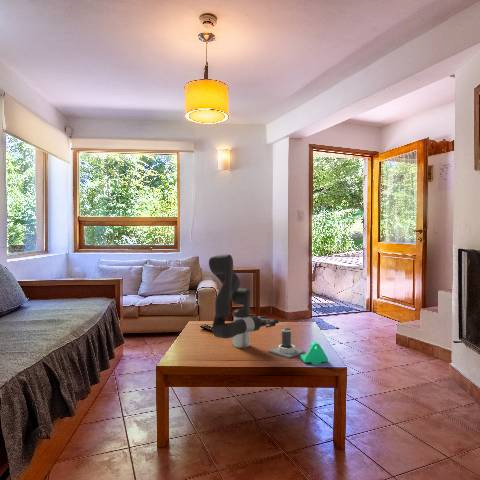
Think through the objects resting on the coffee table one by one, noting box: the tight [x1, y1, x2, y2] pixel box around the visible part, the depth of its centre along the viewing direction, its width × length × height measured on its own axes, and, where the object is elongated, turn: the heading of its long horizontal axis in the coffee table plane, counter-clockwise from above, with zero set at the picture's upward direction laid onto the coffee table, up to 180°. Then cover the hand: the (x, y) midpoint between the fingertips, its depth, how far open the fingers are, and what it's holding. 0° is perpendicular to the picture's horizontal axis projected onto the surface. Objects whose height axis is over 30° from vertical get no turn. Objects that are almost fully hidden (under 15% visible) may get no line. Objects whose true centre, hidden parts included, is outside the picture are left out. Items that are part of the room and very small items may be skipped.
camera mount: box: [300, 341, 329, 365], centre depth 193 cm, size 12×8×10 cm, turn 99°
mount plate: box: [268, 343, 306, 359], centre depth 206 cm, size 14×14×4 cm
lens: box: [281, 327, 292, 348], centre depth 206 cm, size 5×5×12 cm
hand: (272, 319), depth 199 cm, fingers open, 8 cm apart
